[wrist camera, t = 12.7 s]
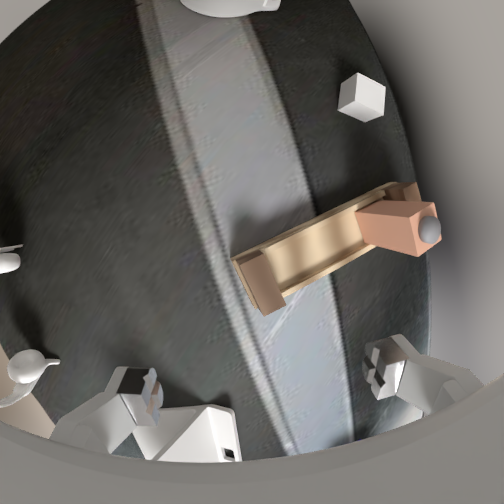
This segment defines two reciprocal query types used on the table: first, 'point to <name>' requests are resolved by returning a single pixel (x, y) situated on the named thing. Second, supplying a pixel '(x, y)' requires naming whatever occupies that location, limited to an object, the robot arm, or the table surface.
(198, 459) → the tablet stand
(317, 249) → the track
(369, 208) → the pink capped carton
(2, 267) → the headset
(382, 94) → the white cube
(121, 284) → the table surface
